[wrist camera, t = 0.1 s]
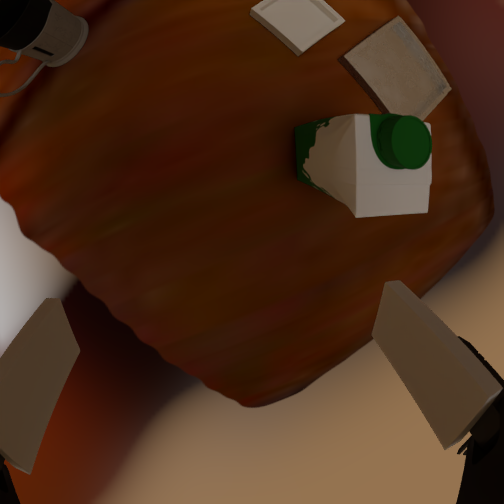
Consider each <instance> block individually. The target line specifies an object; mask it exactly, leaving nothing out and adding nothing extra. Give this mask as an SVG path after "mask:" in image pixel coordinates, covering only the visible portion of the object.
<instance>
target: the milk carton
mask: <svg viewBox="0 0 504 504" xmlns="http://www.w3.org/2000/svg"><path fill="white" fill-rule="evenodd" d="M294 128H295V144H296V162H297V180H299V181H301V182H303V183H305V184H308V185H310V186H312V187H314V188H316V189H318V190H320V191H322V192H324V193H326V194H328V195H329V196H331V197H333V198H335V199H337V200H339V201H340V202H342V203H344V204H346V205H347V206H348V207H349V209H350V210H351V211H352V213H353V214H354V216H355V217H356V218H359V217H372V216H385V215H398V214H413V213H427V212H428V202H429V186H430V184H431V180H432V171H431V151H432V139H431V126H430V124H429V123H426V122H423V121H422V120H420V119H419V118H418V117H415V116H412V115H399V114H393V113H386V114H381V115H379V114H369V115H367V114H350V115H343V116H337V117H331V118H325V119H320V120H316V121H313V122H310V123H307V124H304V125H301V126H298V127H294Z"/></svg>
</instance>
